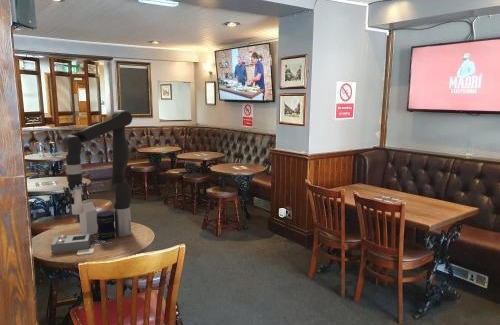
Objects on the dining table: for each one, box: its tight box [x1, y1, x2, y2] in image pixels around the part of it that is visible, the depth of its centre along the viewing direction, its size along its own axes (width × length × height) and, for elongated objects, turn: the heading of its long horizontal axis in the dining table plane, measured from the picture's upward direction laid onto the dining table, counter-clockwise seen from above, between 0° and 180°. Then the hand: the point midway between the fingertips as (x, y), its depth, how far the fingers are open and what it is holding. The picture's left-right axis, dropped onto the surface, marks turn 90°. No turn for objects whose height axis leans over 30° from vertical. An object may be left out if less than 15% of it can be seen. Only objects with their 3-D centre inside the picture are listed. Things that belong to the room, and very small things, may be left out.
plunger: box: [58, 234, 66, 239], centre depth 202 cm, size 3×3×6 cm
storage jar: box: [96, 210, 116, 242], centre depth 214 cm, size 10×10×15 cm
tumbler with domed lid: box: [70, 186, 83, 216], centre depth 197 cm, size 6×6×16 cm
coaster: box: [76, 248, 95, 256], centre depth 194 cm, size 8×6×1 cm
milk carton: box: [78, 201, 98, 236], centre depth 221 cm, size 7×7×19 cm
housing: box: [50, 233, 92, 254], centre depth 200 cm, size 18×12×5 cm, turn 109°
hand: (76, 202), depth 198 cm, fingers closed on tumbler with domed lid, 5 cm apart
